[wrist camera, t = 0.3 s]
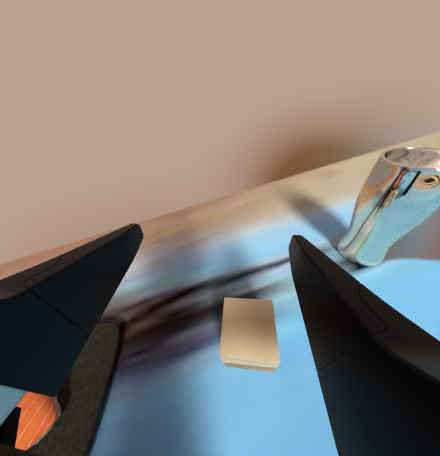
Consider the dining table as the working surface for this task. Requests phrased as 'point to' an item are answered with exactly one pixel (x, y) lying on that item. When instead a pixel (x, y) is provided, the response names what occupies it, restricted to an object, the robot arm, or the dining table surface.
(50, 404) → the sushi plate
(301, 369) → the dining table surface
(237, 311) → the birch block
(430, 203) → the beer glass
